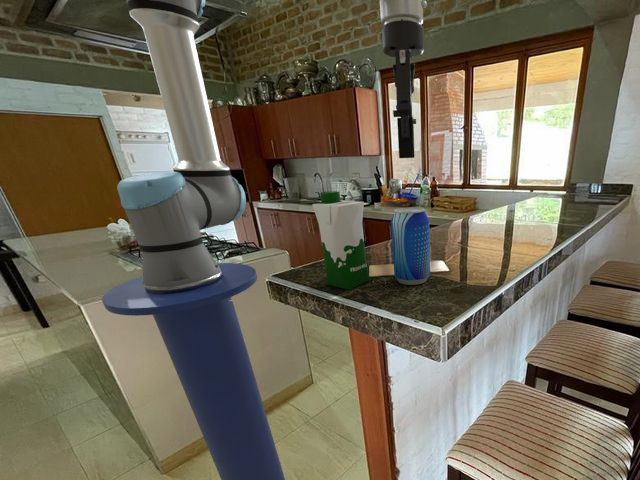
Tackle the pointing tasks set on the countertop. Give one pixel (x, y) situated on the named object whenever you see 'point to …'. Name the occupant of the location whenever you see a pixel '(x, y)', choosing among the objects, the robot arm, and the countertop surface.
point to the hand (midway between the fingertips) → (407, 158)
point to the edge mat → (389, 269)
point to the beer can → (411, 245)
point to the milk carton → (342, 240)
